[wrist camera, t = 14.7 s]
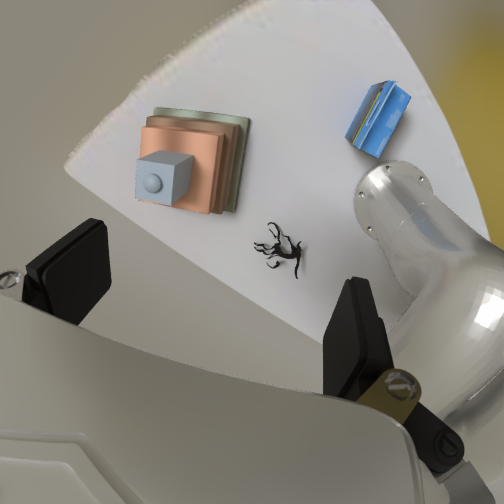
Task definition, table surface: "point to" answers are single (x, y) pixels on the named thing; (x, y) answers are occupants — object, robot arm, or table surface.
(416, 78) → the table surface
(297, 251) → the creature
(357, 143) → the label tape box
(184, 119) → the stepped plate stack
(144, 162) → the slate brick
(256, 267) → the table surface
